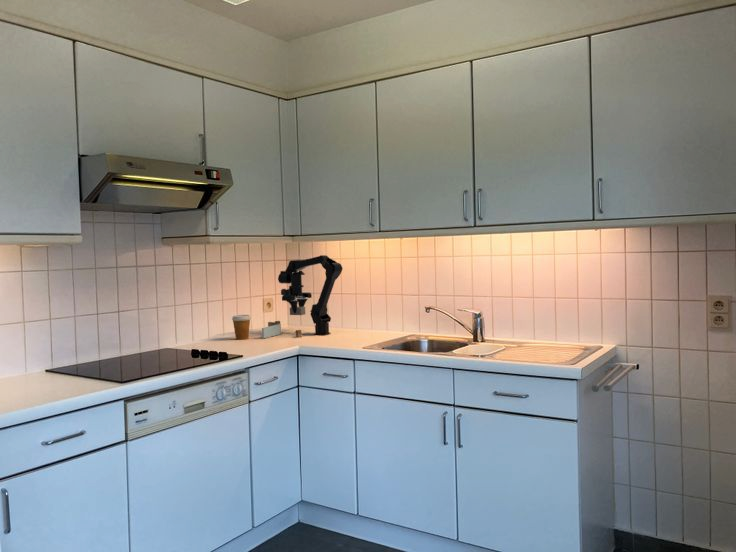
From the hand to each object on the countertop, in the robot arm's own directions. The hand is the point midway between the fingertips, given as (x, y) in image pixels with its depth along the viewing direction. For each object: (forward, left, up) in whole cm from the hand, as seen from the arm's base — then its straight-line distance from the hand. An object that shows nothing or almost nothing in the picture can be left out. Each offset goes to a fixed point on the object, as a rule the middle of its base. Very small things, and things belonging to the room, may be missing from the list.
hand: (297, 312), depth 340 cm
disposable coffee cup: (+16, +26, -11) cm, 33 cm away
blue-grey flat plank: (+6, +15, -11) cm, 19 cm away
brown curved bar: (+3, +8, -11) cm, 14 cm away
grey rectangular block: (0, 0, -1) cm, 1 cm away
